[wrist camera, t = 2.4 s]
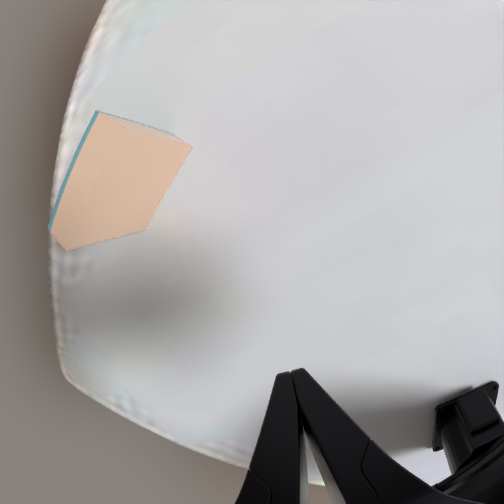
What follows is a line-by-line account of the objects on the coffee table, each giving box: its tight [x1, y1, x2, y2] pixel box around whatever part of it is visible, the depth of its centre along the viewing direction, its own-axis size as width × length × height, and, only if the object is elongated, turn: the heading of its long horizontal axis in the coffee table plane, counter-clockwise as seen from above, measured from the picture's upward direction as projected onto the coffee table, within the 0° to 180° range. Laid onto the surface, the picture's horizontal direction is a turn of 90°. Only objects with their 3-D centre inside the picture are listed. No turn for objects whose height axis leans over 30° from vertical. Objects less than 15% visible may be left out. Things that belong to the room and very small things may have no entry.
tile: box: [48, 110, 193, 251], centre depth 16 cm, size 2×7×8 cm, turn 145°
